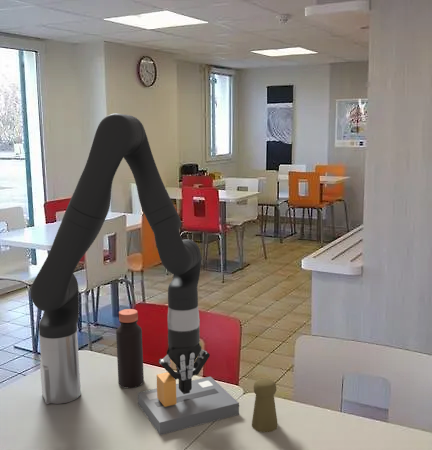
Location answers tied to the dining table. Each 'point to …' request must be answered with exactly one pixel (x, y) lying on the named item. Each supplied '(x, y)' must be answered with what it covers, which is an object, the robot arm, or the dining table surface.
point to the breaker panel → (189, 406)
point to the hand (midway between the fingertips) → (185, 392)
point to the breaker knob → (166, 389)
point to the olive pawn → (264, 406)
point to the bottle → (129, 350)
